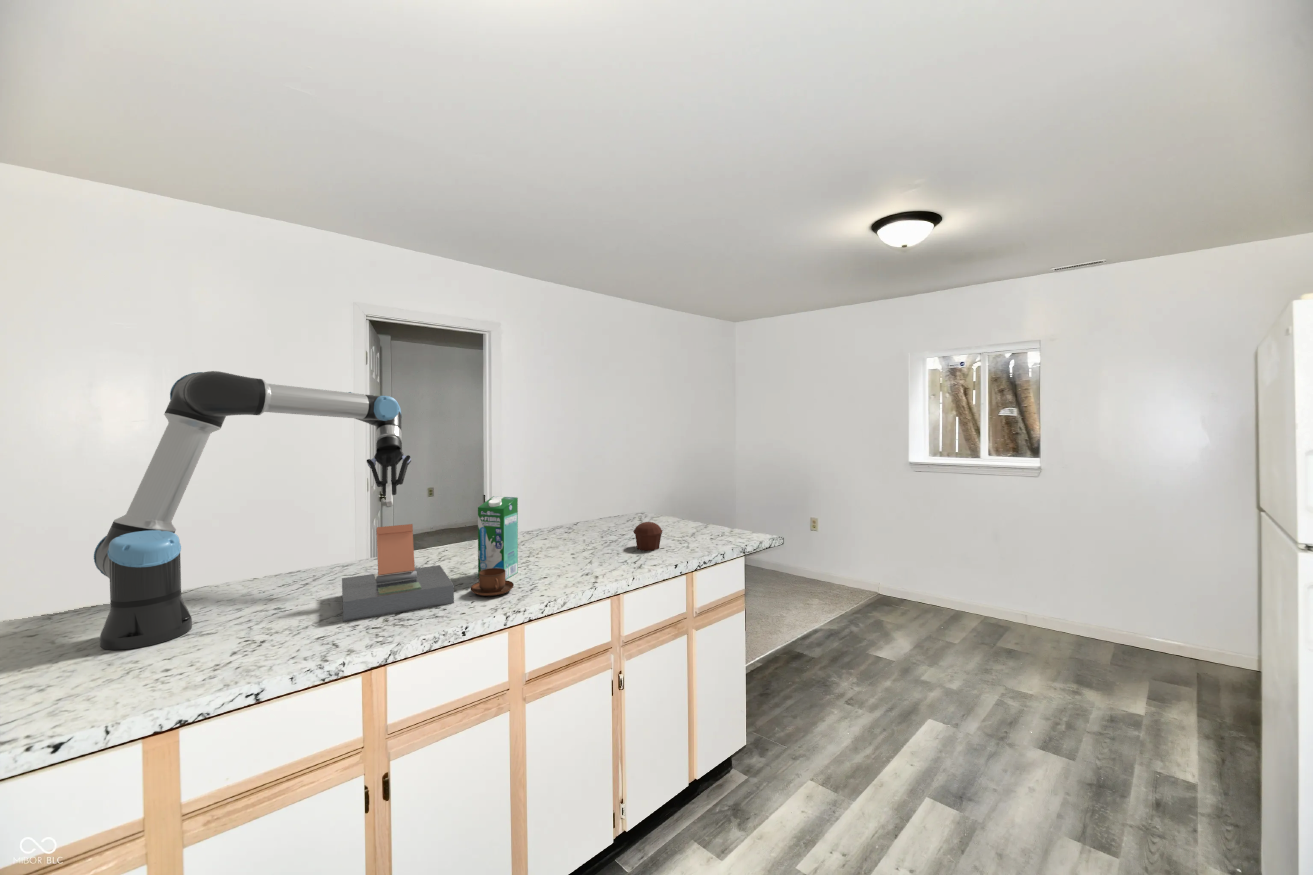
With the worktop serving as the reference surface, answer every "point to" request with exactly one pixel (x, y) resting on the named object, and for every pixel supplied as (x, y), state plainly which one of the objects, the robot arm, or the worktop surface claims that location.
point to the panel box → (395, 593)
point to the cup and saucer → (492, 583)
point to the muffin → (648, 536)
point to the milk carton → (498, 535)
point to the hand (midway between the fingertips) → (389, 503)
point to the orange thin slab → (395, 553)
